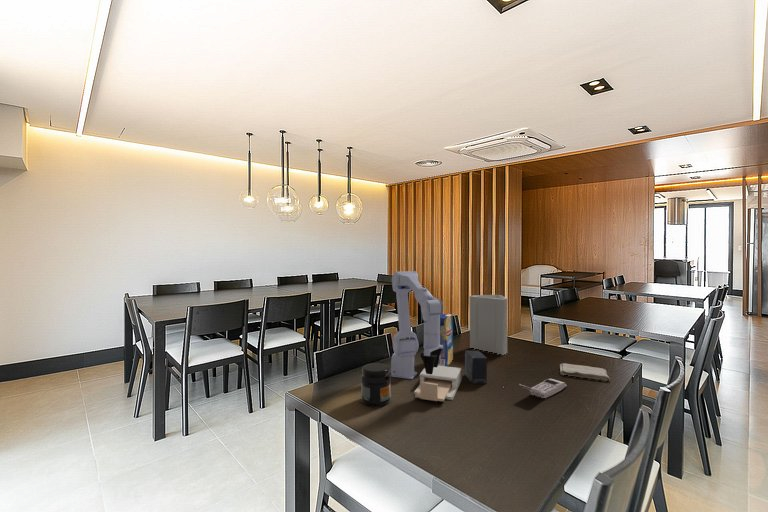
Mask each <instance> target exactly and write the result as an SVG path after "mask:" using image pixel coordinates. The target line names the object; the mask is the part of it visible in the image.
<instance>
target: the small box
mask: <svg viewBox="0 0 768 512" xmlns="http://www.w3.org/2000/svg"><path fill="white" fill-rule="evenodd" d="M487 362H488V358H487V357H486V356H485V355H484V354H483V353H482V351H479V350H464V376H465V377H466V378H467V380H468V382H470V383H471V384H472V385H474V384H475V385H476V384H478V385H479V384H482V385H483V384H484V385H485V384H487V382H488V381H487V379H488V377H487V375H488V373H487V372H488V371H487V370H488V369H487V368H488V363H487Z"/></svg>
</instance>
